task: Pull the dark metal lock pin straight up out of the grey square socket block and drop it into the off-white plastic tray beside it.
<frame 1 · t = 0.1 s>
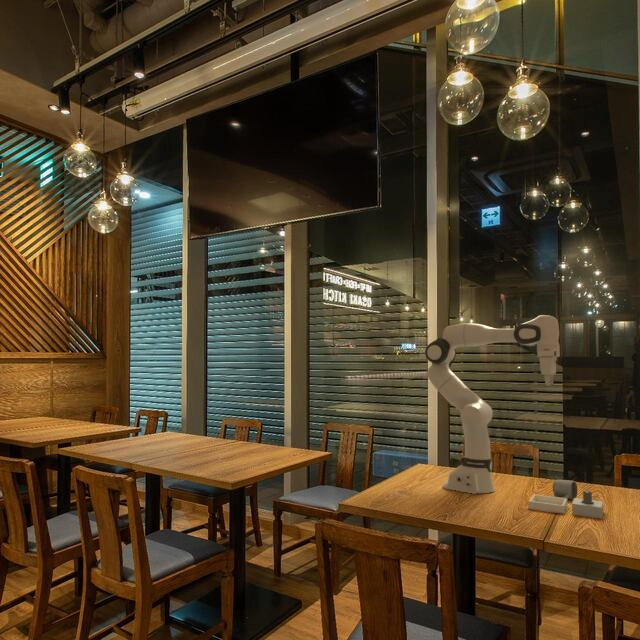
hand: (549, 385, 221), 48 cm above the table, tool pointing down, fingers open, 8 cm apart
grey square socket block: (587, 513, 198), on the table
ceramic mug: (564, 499, 220), on the table
tray: (548, 507, 206), on the table
lock pin: (587, 502, 199), in the grey square socket block
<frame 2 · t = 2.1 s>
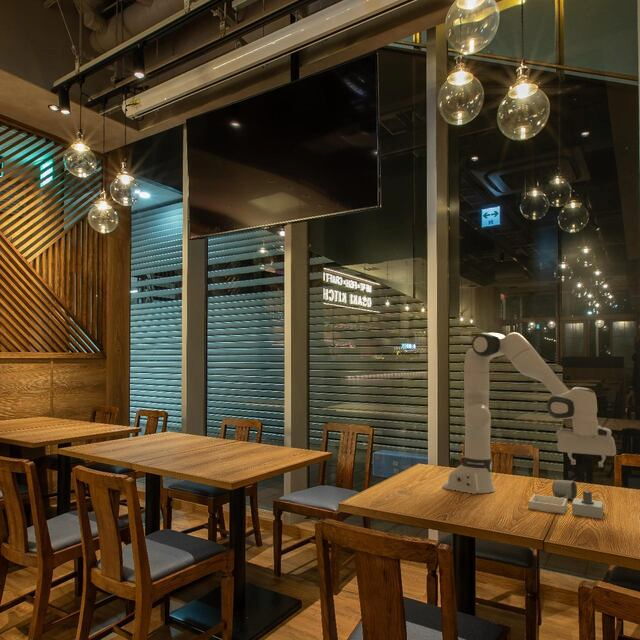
hand: (586, 465, 200), 18 cm above the table, tool pointing down, fingers open, 8 cm apart
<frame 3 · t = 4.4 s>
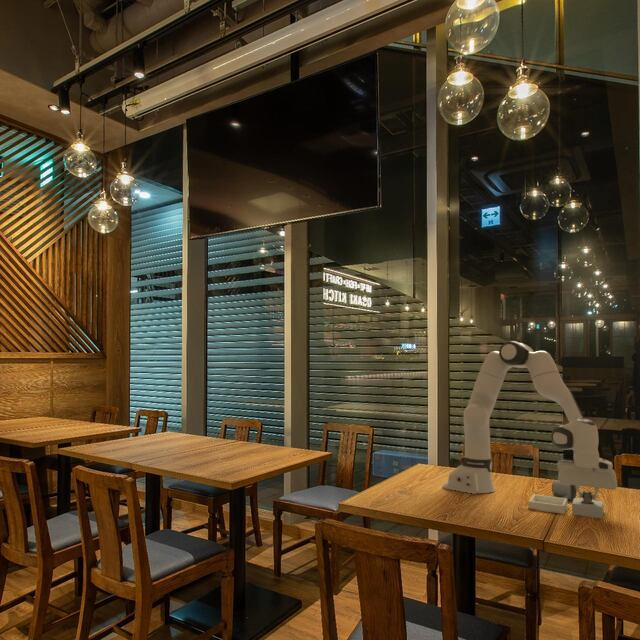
hand: (587, 498, 199), 6 cm above the table, tool pointing down, fingers closed on lock pin, 3 cm apart
lock pin: (587, 502, 199), in the grey square socket block, touching gripper
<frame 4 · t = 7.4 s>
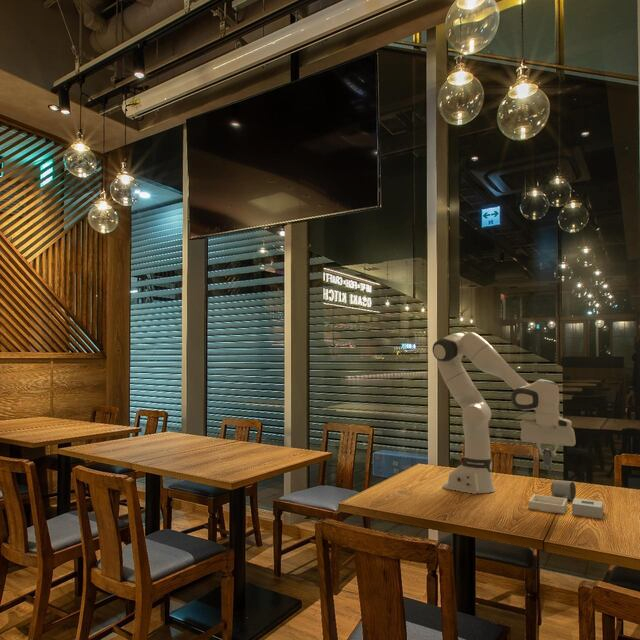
hand: (547, 455, 207), 20 cm above the table, tool pointing down, fingers closed on lock pin, 3 cm apart
lock pin: (547, 459, 207), point 19 cm above the table, touching gripper
when the fingers open (9 cm above the table, at t = 10.4 s): lock pin drops 4 cm and tips over, resting on tray.
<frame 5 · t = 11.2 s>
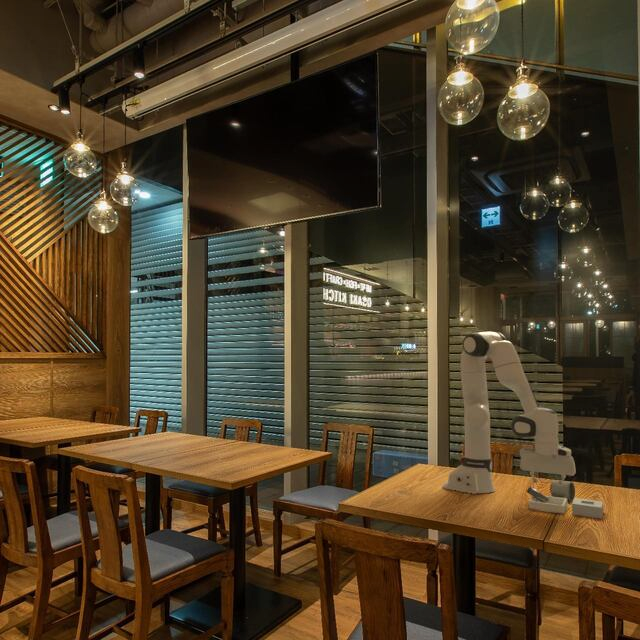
hand: (547, 484, 206), 9 cm above the table, tool pointing down, fingers open, 8 cm apart
lock pin: (537, 495, 209), in the tray, tilted 60°
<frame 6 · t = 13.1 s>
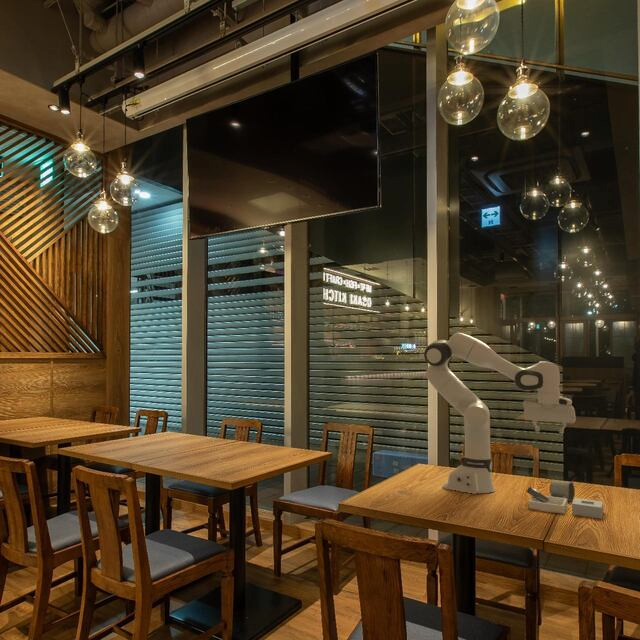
hand: (549, 432, 220), 28 cm above the table, tool pointing down, fingers open, 8 cm apart
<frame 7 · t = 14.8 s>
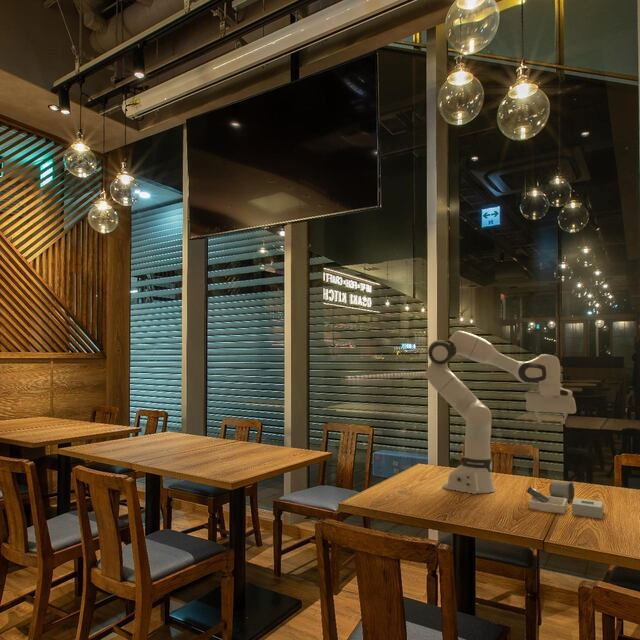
hand: (550, 422, 227), 31 cm above the table, tool pointing down, fingers open, 8 cm apart
at the end: lock pin inside the target area on the tray (0.8 cm from its centre), point 3.9 cm above the tray's base; the gripper is holding nothing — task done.
